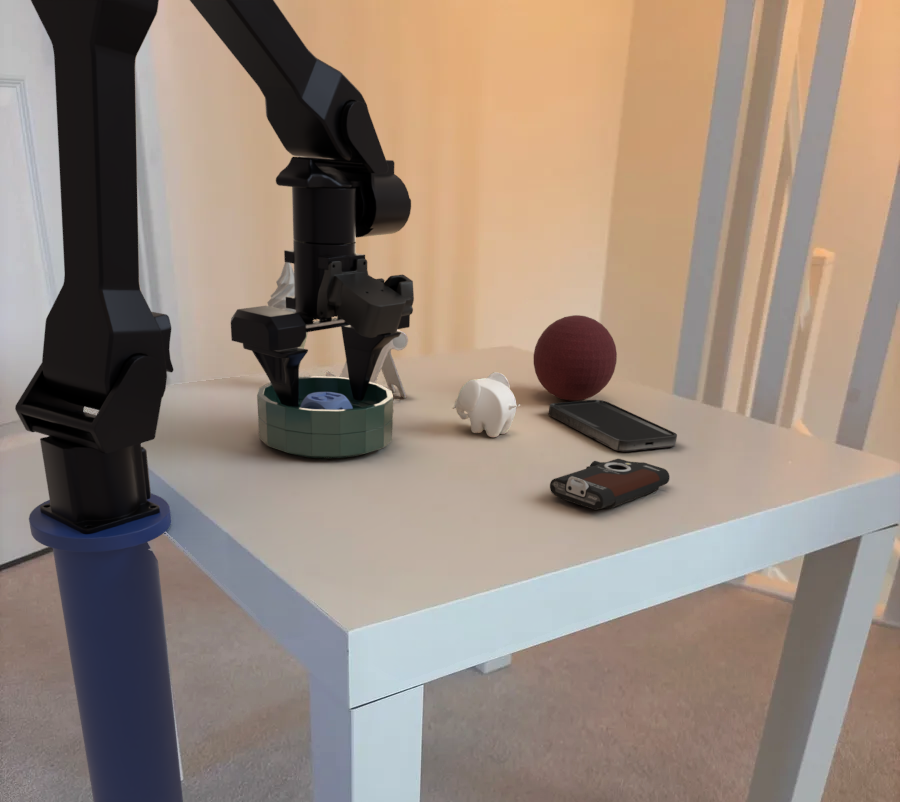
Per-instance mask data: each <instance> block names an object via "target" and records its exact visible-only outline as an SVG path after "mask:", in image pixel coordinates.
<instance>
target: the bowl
mask: <svg viewBox="0 0 900 802" xmlns="http://www.w3.org/2000/svg"><path fill="white" fill-rule="evenodd" d="M315 392H335V393H339V394H342V395H344V396H345V397H346V398H347V399H348V400H349V402H350V403H351V405H352V408H353V409H342V410H323V409H306V408H300V406H301V404H302V402H303V400H304V399H305V397H306V396H307V395H309V394H311V393H315ZM256 400H257V422H258V423H257V424H258V438H259V440H260V441H262V442H263V443H264V444H265V445H266V446H267V447H269V448H273V449H275V450H278V451H281V452H284V453H287V454H290V455H294V456H298V457H302V458H310V459H344V458H352V457H353V458H354V457H358V456H362V455H365V454H369V453H372V452H376V451H377V450H381V449H384V448H385V447H386V446H388V445H389V444H390V443H391V442H392V441H393V426H394V425H393V424H394V420H393V419H394V396H393V391H391V390H390V389H389V388H388V387H386V386H384V385H382V384H380V383H376V382H375V383H372V382H369V385H368V388H367V390H366V393H365V396H364V399H363V400H361V401H358V400H355V399H354V398H353V395H352V391H351V387H350V382H349V378H344V377H339V376H336V377H327V376H326V375H324V376H323V375H313V376H312V375H311V376H299V404H298V407H291V406H286V405H283V404H281V402H280V400H279V398H278V396H277V394H276V392H275V390H274V388H273V386H272V384H271V382H270V381H269V382H268V383H266V384H264V385H263V386H260V387H259V388H258V391H257V395H256Z"/></svg>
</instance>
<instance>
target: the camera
mask: <svg viewBox="0 0 900 802" xmlns="http://www.w3.org/2000/svg"><path fill="white" fill-rule="evenodd" d="M670 478H671V477H670V473H669V471H668V470H667V469H665V468H664V467H660V466H656V465H653V464H650V463H647V462H639V461H629V460H625V459H621V458H615V459H612V460H608V461H603V462H602V461H598V460H593V461H592V462H591V463H590V464H589V466H586V467H585V468H584V469H581V470H577V471H574V472H571V473H567V474H565V475H561V476H558V477H555V478H552V479H551V480H550V483H549V490H550V492H551V494H553V496H555V497H557V498H559V499H562V500H564V501H566V502H569V503H572V504H576V505H578V506H581V507H585V508H589V509H592V510H593V511H594V510H595V511H597V510H602V509H604V508H606V509H612V508H615V507H618V506H620V505H623V504H625V503H628V502H631V501H633V500H636V499H638V498H641V497H644V496H646V495H649V494H651V493H655V492H657V491H658V490H659V489H660V487H663V486H665V485H667V484H668V483H669V482H670Z"/></svg>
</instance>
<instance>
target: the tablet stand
mask: <svg viewBox="0 0 900 802" xmlns="http://www.w3.org/2000/svg"><path fill="white" fill-rule="evenodd" d="M397 331H401V334H400V336H399V337H396V338H394V339H393V340H391V341H390V342H389V343H388V344H387V345H385V346H384V347H383V349H382V350H381V353H380V355H379V357H378V360H377V362H376V365H375V367H374V370H373V373H372V376H371V379H370V382H372V383H376V382H377V380H378V377H379V375H380V372H382V375H383V377H384V380H385V383H386V385H387V389H389V390H391V391H392V393H395V392H396V389H395V387H396V388H397V391H398V393H399V395H400V397H401V398H403V399H406V398H407V397H408V396H407V393H406V391H405V389H404V385H403V383H402V380H401V377H400V373H399V372H398V369H397V367H396V363H395V361H394V358H393V355H392V350H395V351H397V352H400V351H403V350H405V349H406V347H407V346H408V343H409V337H408V335H407V334H406V332H404V331H402V330H401V329H397ZM325 376H327V377H337V375H335V374H333V373H332V372H330V371H325ZM338 377H344V378H349V375H348V368H347V362H346V361H345V363H344V365H343V368H342V370H341V373H340V375H339V376H338Z"/></svg>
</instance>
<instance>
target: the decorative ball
mask: <svg viewBox="0 0 900 802" xmlns="http://www.w3.org/2000/svg"><path fill="white" fill-rule="evenodd" d="M617 359H618V354H617V346H616V343H615V340H614V338H613V336H612V334H611V333H610V332H609V330H608V328H606V327H605V326H604V325H603V324H602V323H601V322H599V321H598V320H596V319H595V318H592V317H589V316H586V315H580V314H579V315H578V314H576V315H573V314H572V315H568V316H564V317H561V318H559V319H557V320H555V321H553V322H552V323H550V324H549V325H548V326H546V328H545V329H544V330H543V332H542V333H541V335H540V336H539V338H538V339H537V342H536V344H535V347H534V352H533V368H534V372H535V375H536V377H537V380H538V382H539V383H540V384H541V386H542V387H543V389H545V390H546V391H547V392H548V393H549V394H551V395H553V396H554V397H556V398H557V399H560V400H564V401H567V402H574V401H585V400H587V399H590V398H592V397H594V396H595V395H597V394H599V393H600V392H601V391H602V390H604V388H605V387H606V386H607V385H608V384H609V382H610V381H611V379H612V378H613V375H614V374H615V370H616V366H617Z"/></svg>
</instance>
